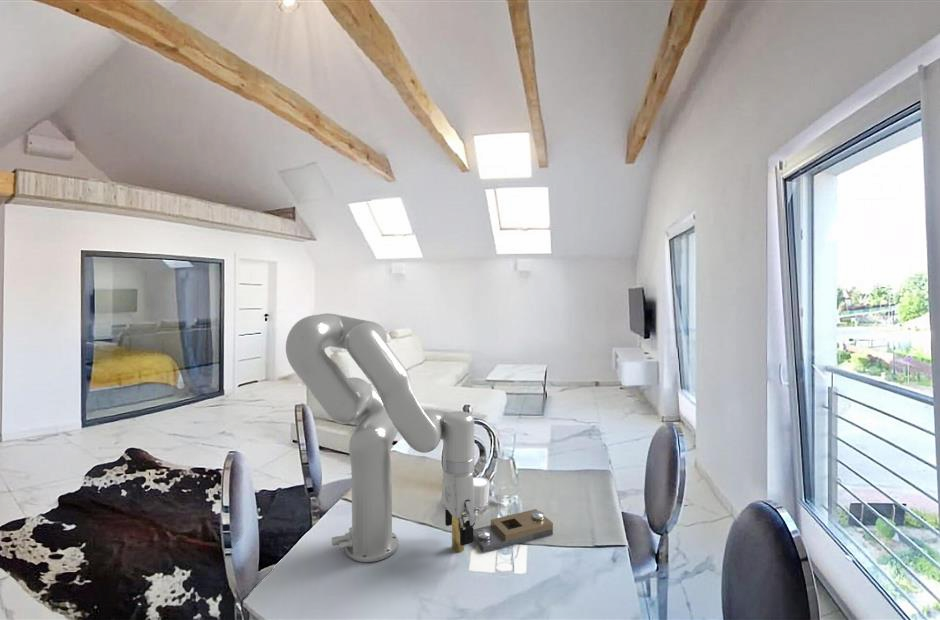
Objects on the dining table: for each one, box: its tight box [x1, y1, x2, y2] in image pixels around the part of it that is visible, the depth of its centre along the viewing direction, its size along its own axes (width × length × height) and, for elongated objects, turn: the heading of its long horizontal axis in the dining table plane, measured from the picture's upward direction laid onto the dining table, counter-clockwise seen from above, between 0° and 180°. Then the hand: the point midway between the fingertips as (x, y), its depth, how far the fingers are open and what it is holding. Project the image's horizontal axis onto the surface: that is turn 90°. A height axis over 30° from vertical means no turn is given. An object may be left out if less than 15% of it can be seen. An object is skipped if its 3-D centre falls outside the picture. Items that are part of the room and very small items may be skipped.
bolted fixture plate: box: [473, 508, 554, 554], centre depth 115 cm, size 20×8×4 cm, turn 115°
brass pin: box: [451, 512, 465, 554], centre depth 108 cm, size 3×3×10 cm
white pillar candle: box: [473, 476, 491, 507], centre depth 131 cm, size 7×7×7 cm
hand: (458, 533), depth 108 cm, fingers open, 8 cm apart
